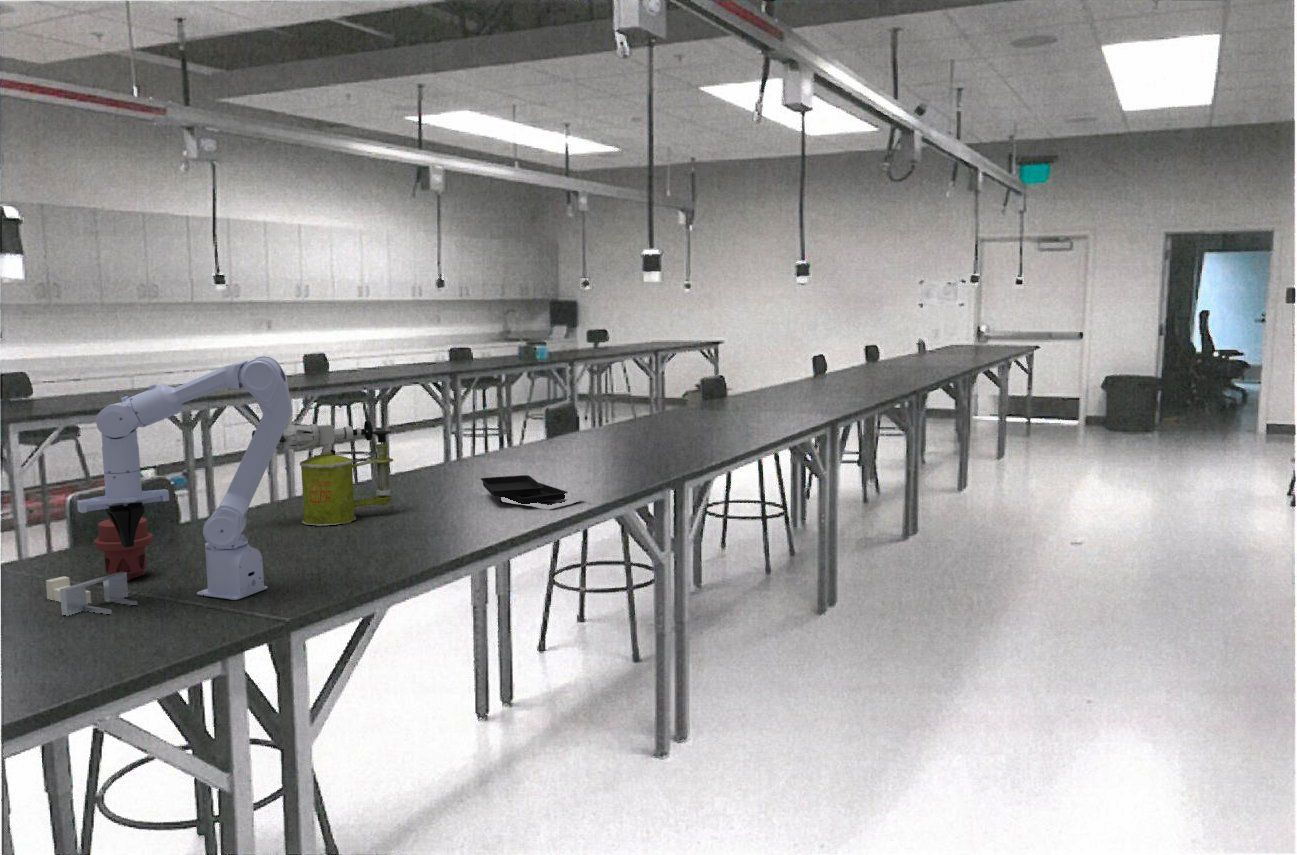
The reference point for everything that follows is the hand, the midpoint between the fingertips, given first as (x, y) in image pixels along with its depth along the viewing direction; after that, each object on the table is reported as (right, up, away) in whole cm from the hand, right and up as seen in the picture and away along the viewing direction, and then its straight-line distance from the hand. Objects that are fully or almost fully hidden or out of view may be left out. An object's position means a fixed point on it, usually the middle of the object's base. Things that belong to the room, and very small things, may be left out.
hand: (127, 545), depth 176 cm
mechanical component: (-8, -8, +15) cm, 19 cm away
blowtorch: (+15, -2, +65) cm, 67 cm away
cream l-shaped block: (-11, -10, +1) cm, 15 cm away
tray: (+60, +1, +87) cm, 105 cm away
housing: (-2, -10, -3) cm, 11 cm away
